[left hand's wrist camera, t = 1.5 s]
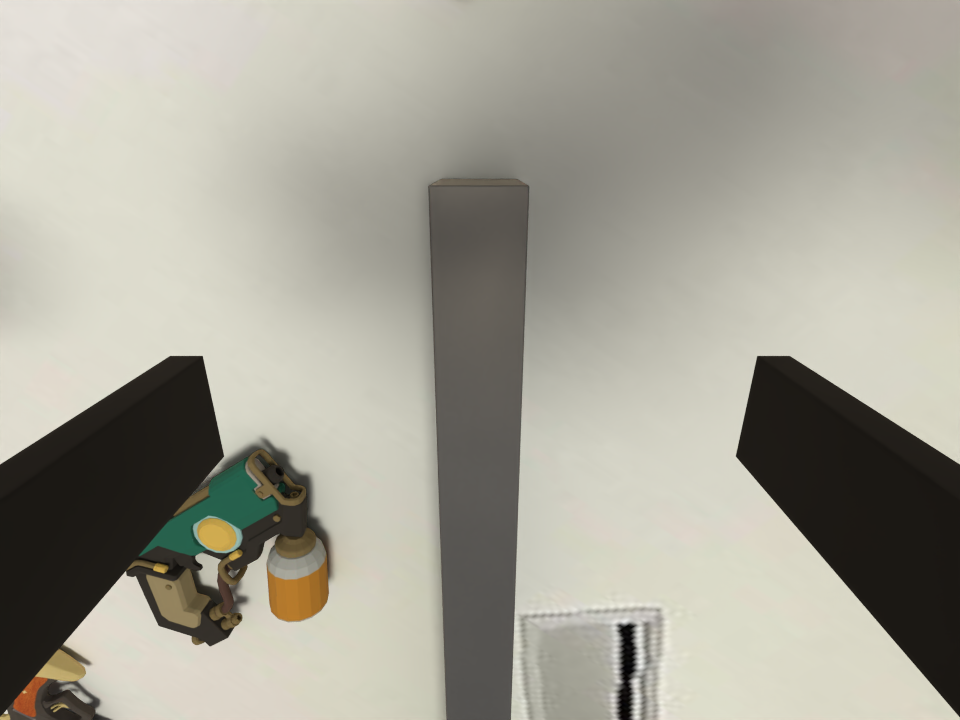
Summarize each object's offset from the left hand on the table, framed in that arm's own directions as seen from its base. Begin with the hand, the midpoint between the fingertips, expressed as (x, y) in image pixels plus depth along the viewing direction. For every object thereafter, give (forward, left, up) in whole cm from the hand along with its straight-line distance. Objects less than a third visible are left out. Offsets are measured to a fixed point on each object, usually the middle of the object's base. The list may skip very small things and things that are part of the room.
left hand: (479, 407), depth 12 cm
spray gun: (+21, +20, -21) cm, 36 cm away
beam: (+3, +28, -21) cm, 35 cm away
